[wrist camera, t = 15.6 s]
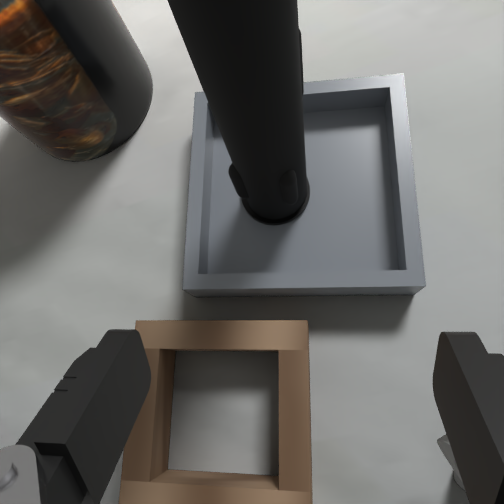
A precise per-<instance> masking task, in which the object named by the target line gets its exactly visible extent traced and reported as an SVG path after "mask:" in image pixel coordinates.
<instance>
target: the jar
mask: <svg viewBox="0 0 504 504" xmlns="http://www.w3.org/2000/svg"><path fill="white" fill-rule="evenodd" d="M152 91H153V84H152V77H151V73H150V70H149V68H148V65H147V63H146V61H145V60H144V58H143V56H142V54H141V52H140V50H139V49H138V47H137V45H136V43H135V41H134V40H133V38H132V36H131V34H130V32H129V31H128V29H127V27H126V25H125V23H124V22H123V20H122V18H121V16H120V15H119V13H118V11H117V9H116V7H115V6H114V4H113V2H112V0H0V117H1V118H3V119H4V120H5V121H6V122H8V123H9V124H10V125H11V126H13V127H14V128H15V129H16V130H18V131H19V132H20V133H22V134H23V135H24V136H25V137H27V138H28V139H29V140H31V141H32V142H33V143H34V144H36V145H37V146H38V147H40V148H41V149H42V150H44V151H45V152H47V153H48V154H50V155H52V156H54V157H56V158H58V159H62V160H67V161H85V160H90V159H94V158H97V157H100V156H102V155H105V154H107V153H109V152H110V151H112V150H114V149H115V148H117V147H118V146H120V145H121V144H123V143H124V142H125V141H126V140H127V139H128V138H129V137H130V136H131V135H132V134H133V133H134V132H135V131H136V129H137V128H138V127H139V126H140V124H141V122H142V121H143V119H144V117H145V116H146V113H147V111H148V109H149V106H150V102H151V98H152Z"/></svg>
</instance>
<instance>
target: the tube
mask: <svg viewBox="0 0 504 504" xmlns="http://www.w3.org/2000/svg"><path fill="white" fill-rule="evenodd" d="M168 3H169V5H170V8H171V10H172V13H173V15H174V18H175V20H176V23H177V25H178V28H179V30H180V33H181V35H182V38H183V40H184V43H185V45H186V48H187V50H188V53H189V55H190V58H191V60H192V63H193V65H194V68H195V70H196V73H197V75H198V78H199V80H200V83H201V85H202V88H203V91H204V93H205V96H206V98H207V101H208V103H209V106H210V108H211V111H212V113H213V116H214V118H215V121H216V123H217V126H218V128H219V131H220V133H221V136H222V138H223V141H224V143H225V146H226V148H227V151H228V153H229V156H230V158H231V161H232V164H231V165H230V167H229V170H228V173H229V177H230V179H231V181H232V183H233V186H234V188H235V190H236V192H237V194H238V196H240V197H241V200H242V203H243V206H244V208H245V210H246V212H247V213H248V214H249V215H250V216H251V217H252V218H253V219H254V220H256V221H258V222H260V223H262V224H266V225H282V224H286V223H288V222H291V221H292V220H294V219H296V218H297V217H298V216H299V215H300V214H301V213H302V212H303V211H304V210H305V208H306V206H307V204H308V202H309V198H310V185H309V181H308V178H307V174H306V155H305V137H304V118H303V100H302V96H303V93H304V85H303V64H302V43H301V32H300V30H299V26H298V8H297V0H168Z"/></svg>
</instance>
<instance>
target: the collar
mask: <svg viewBox="0 0 504 504" xmlns="http://www.w3.org/2000/svg"><path fill="white" fill-rule="evenodd" d="M135 330H137V331H138V332H139V333H140V336H141V339H142V342H143V346H144V349H145V352H146V356H147V359H148V362H149V366H150V370H151V384H150V389H149V392H148V394H147V396H146V399H145V401H144V403H143V406H142V408H141V410H140V412H139V415H138V417H137V419H136V421H135V424H134V426H133V428H132V431H131V433H130V435H129V437H128V440H127V442H126V444H125V447H124V453H123V464H122V475H121V485H120V496H119V504H313V501H312V457H311V413H310V369H309V325H308V321H307V320H165V321H136V325H135ZM176 351H273V352H279V476H271V475H254V474H237V473H220V472H202V471H185V470H168V459H169V443H170V428H171V413H172V398H173V382H174V367H175V352H176Z"/></svg>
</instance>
